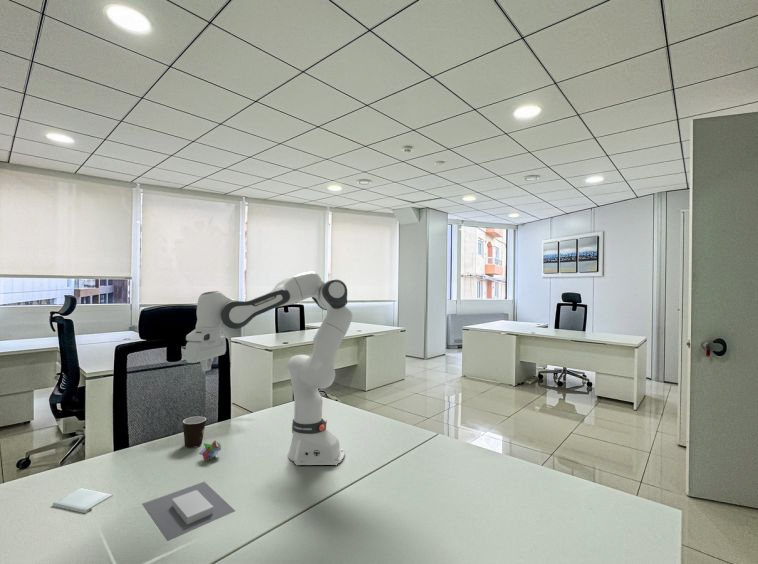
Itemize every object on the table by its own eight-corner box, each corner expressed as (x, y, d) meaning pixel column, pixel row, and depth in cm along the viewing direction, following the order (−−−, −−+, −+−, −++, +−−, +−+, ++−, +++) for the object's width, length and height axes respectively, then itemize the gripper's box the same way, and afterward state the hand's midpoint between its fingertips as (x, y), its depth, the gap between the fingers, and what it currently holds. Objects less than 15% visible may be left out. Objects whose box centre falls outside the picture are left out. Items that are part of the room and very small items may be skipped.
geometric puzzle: (206, 461, 130) (217, 439, 135) (191, 458, 133) (202, 435, 137) (217, 466, 136) (227, 444, 140) (203, 463, 138) (213, 441, 143)
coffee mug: (195, 450, 144) (196, 425, 144) (176, 447, 145) (177, 422, 146) (214, 438, 155) (215, 415, 155) (196, 436, 157) (197, 413, 157)
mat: (141, 505, 107) (142, 503, 107) (204, 483, 120) (204, 481, 120) (167, 543, 92) (167, 540, 92) (235, 512, 105) (235, 510, 105)
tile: (172, 498, 106) (187, 517, 98) (196, 489, 111) (213, 506, 103) (171, 506, 106) (187, 525, 98) (196, 496, 111) (213, 514, 103)
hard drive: (52, 502, 105) (86, 509, 102) (81, 487, 113) (113, 493, 110) (52, 507, 105) (86, 515, 102) (81, 492, 113) (113, 499, 110)
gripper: (216, 330, 146) (214, 364, 146) (182, 336, 126) (180, 375, 126) (231, 331, 146) (229, 365, 145) (199, 337, 125) (197, 377, 125)
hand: (206, 370), depth 135 cm, fingers closed
